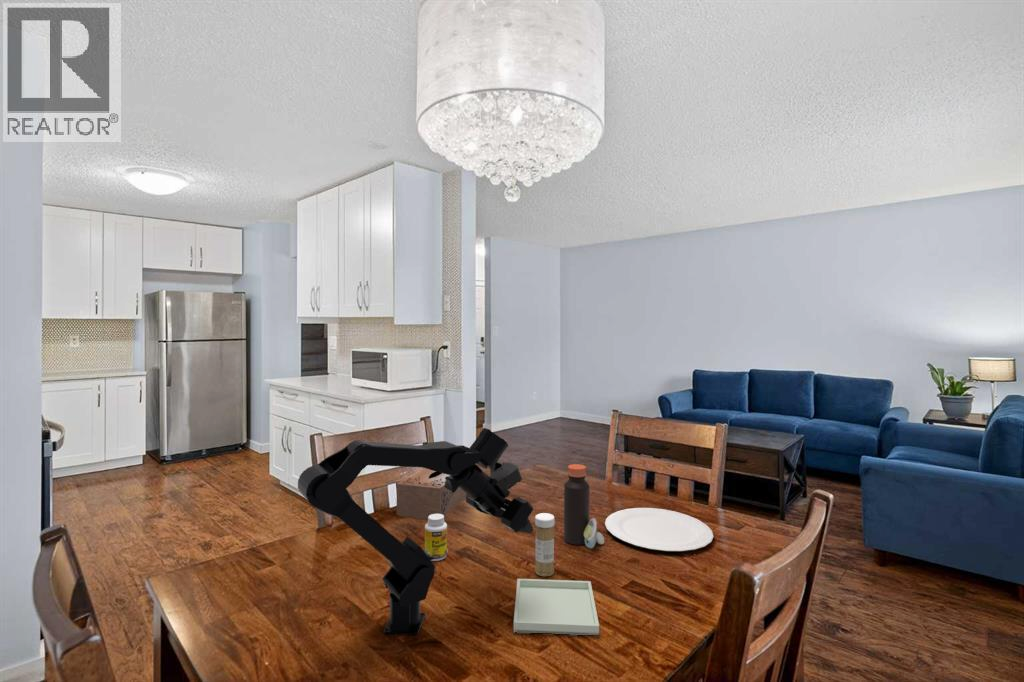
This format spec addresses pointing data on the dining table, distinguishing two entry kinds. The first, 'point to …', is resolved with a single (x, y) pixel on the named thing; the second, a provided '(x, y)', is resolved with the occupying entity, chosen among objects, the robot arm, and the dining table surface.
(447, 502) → the tissue box cover
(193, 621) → the dining table surface
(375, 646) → the dining table surface
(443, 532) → the supplement bottle
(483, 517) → the dining table surface
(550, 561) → the spice jar
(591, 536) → the pacifier
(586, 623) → the tray
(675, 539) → the plate
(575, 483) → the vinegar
